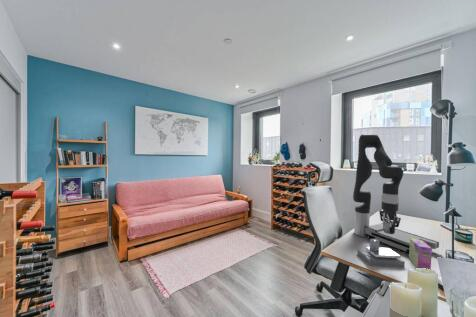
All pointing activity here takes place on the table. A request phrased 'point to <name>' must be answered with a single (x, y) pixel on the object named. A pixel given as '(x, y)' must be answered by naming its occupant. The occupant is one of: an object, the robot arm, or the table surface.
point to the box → (420, 253)
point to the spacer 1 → (374, 245)
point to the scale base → (379, 259)
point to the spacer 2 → (387, 227)
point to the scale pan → (385, 253)
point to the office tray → (396, 238)
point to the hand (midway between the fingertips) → (388, 231)
